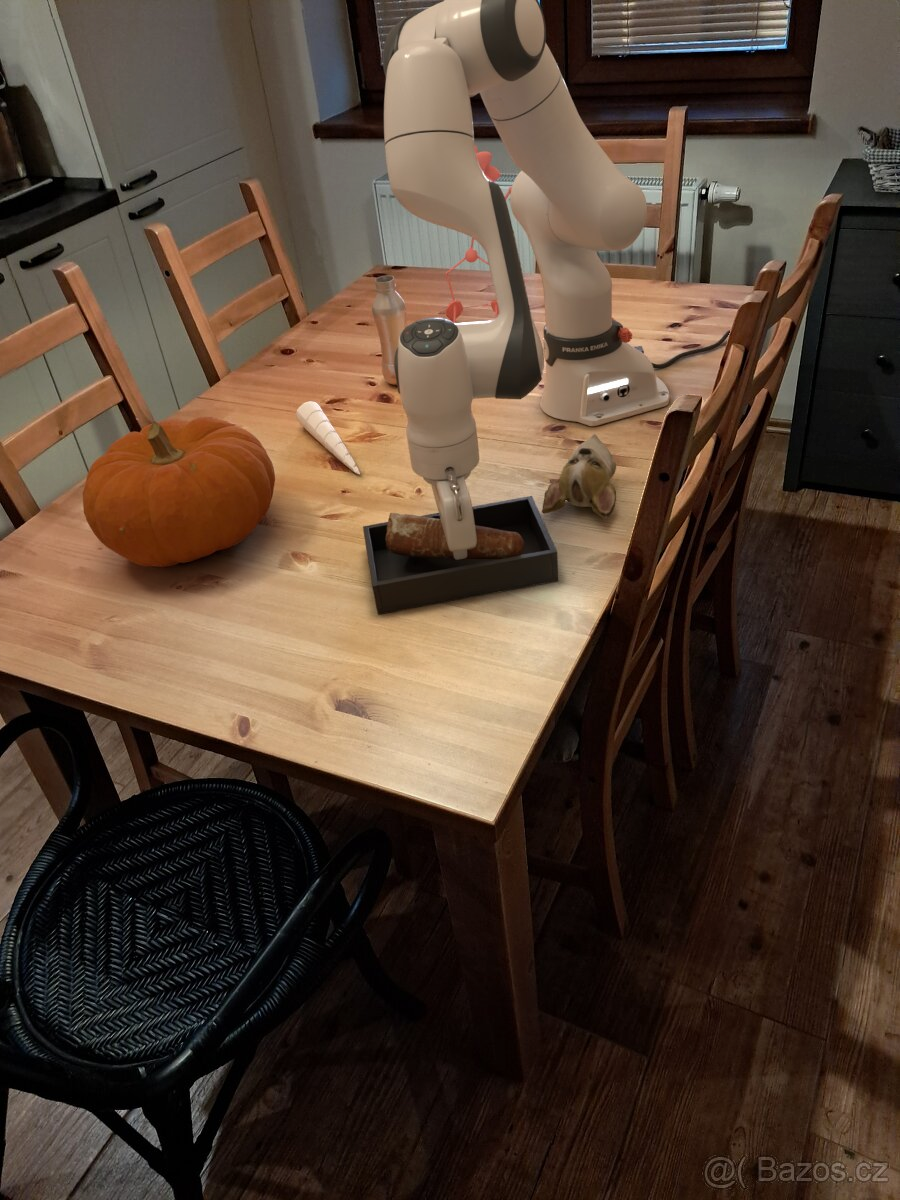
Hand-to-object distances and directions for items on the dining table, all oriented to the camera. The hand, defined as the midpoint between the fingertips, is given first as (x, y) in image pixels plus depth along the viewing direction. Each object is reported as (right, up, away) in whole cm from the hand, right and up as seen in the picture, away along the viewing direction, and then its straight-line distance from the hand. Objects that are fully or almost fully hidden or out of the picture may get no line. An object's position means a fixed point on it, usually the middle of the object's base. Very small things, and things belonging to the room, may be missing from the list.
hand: (455, 540), depth 124 cm
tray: (+1, -4, +3) cm, 5 cm away
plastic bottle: (-10, +34, +53) cm, 64 cm away
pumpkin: (-40, +1, +16) cm, 43 cm away
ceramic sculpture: (+20, +7, +12) cm, 24 cm away
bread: (0, -2, +2) cm, 3 cm away
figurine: (+6, +53, +73) cm, 90 cm away
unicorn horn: (-21, +18, +35) cm, 45 cm away
